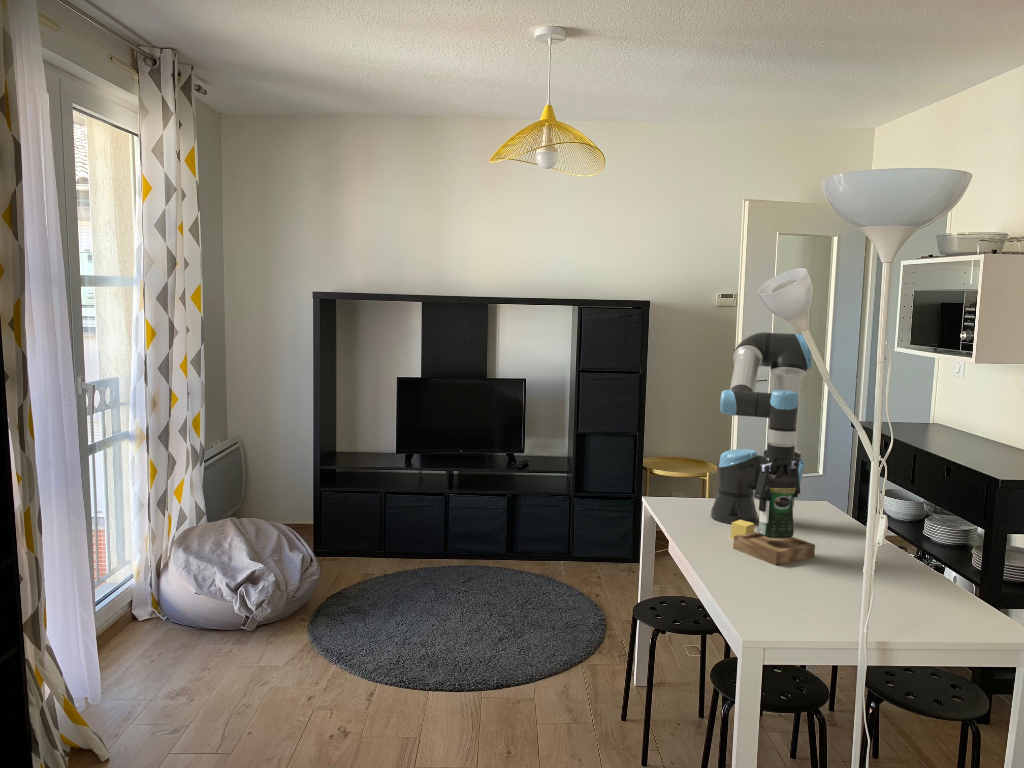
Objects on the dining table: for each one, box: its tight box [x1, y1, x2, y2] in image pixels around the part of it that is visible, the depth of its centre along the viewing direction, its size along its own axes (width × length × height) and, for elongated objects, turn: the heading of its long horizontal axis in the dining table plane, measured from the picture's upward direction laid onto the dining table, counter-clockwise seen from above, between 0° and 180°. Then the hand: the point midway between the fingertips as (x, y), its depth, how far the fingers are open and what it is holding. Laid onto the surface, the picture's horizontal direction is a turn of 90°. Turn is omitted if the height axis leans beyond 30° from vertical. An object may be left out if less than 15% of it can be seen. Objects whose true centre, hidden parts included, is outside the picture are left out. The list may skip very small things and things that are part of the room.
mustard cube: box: [730, 520, 756, 540], centre depth 244 cm, size 5×5×5 cm
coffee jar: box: [757, 473, 796, 538], centre depth 229 cm, size 10×8×19 cm
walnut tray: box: [732, 531, 816, 566], centre depth 231 cm, size 16×16×4 cm
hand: (775, 520), depth 230 cm, fingers closed on coffee jar, 9 cm apart
